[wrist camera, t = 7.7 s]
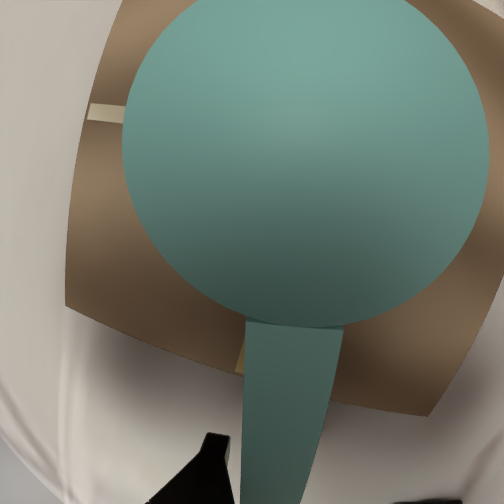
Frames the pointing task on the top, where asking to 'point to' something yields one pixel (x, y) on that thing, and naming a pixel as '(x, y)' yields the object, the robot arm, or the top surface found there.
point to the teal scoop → (303, 187)
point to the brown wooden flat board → (233, 323)
